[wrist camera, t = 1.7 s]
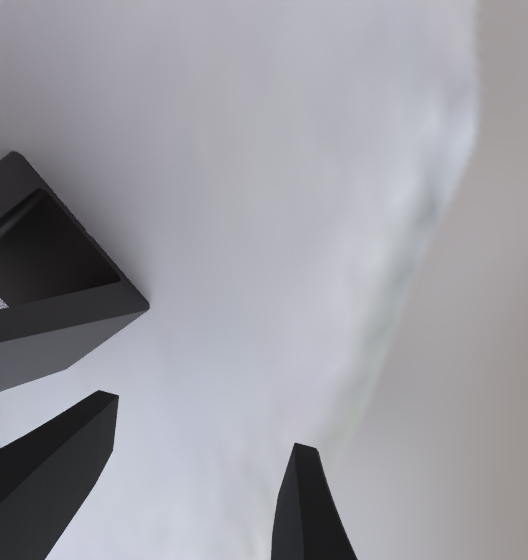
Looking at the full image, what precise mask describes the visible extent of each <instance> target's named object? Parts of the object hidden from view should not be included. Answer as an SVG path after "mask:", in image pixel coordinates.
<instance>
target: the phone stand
mask: <svg viewBox="0 0 528 560" xmlns="http://www.w3.org/2000/svg"><path fill="white" fill-rule="evenodd" d="M0 298H1V299H2V300H3V301H4V302H5V303H6V304H7V305H8V306H9V307H8V308H4V309H0V391H3V390H6V389H9V388H12V387H15V386H18V385H21V384H24V383H27V382H30V381H33V380H36V379H39V378H41V377H44V376H47V375H50V374H53V373H56V372H59V371H62V370H65V369H67V368H68V367H70V366H71V365H73V364H74V363H75V362H77V361H78V360H80V359H81V358H82V357H84V356H85V355H87V354H88V353H89V352H91V351H92V350H93V349H95V348H96V347H98V346H99V345H100V344H102V343H103V342H105V341H106V340H107V339H109V338H110V337H112V336H113V335H114V334H116V333H117V332H118V331H120V330H121V329H123V328H124V327H125V326H127V325H128V324H130V323H131V322H132V321H134V320H135V319H137V318H138V317H139V316H141V315H142V314H143V313H145V312H146V311H148V310H149V308H150V306H149V303H148V301H147V300H146V299H145V298H144V297H143V296H142V294H141V293H140V292H139V291H138V290H137V289H136V287H135V286H134V285H133V284H132V283H131V282H130V280H129V279H128V278H127V277H126V276H125V275H124V273H123V272H122V271H121V270H120V269H119V268H118V266H117V265H116V264H115V263H114V262H113V261H112V259H111V258H110V257H109V256H108V255H107V254H106V252H105V251H104V250H103V249H102V248H101V247H100V245H99V244H98V243H97V242H96V241H95V240H94V238H93V237H92V236H89V235H87V234H86V232H85V228H84V227H83V226H82V224H81V223H80V222H79V221H78V220H77V219H76V217H75V216H74V215H73V214H72V213H71V212H70V210H69V209H68V208H67V207H66V206H65V205H64V203H63V202H62V201H61V200H60V199H59V198H58V196H57V195H56V194H55V193H54V192H53V191H52V189H51V188H50V187H49V186H48V185H47V184H46V182H45V181H44V180H43V179H42V178H41V177H40V175H39V174H38V173H37V172H36V171H35V170H34V168H33V167H32V166H31V165H30V164H29V163H28V161H27V160H26V159H25V158H24V157H23V156H22V155H21V154H19V153H17V152H14V151H12V152H10V153H9V154H8V155H7V156H5V157H4V158H3V159H2V160H1V161H0Z"/></svg>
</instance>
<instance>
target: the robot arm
mask: <svg viewBox="0 0 528 560" xmlns="http://www.w3.org/2000/svg"><path fill="white" fill-rule="evenodd" d="M118 400H119V395H115V394H111V393H108V392H104V391H100V390H98V391H96V392H94V393H93V394H91V395H90V396H88V397H86V398H85V399H83V400H82V401H80V402H78V403H77V404H75V405H74V406H72V407H71V408H69V409H67V410H66V411H64V412H63V413H61V414H59V415H58V416H56V417H55V418H53V419H51V420H50V421H48V422H46V423H45V424H43V425H41V426H40V427H38V428H36V429H35V430H33V431H31V432H29V433H28V434H26V435H24V436H23V437H21V438H19V439H17V440H15V441H13V442H12V443H10V444H8V445H6V446H4V447H2V448H1V449H0V560H45V558H46V557H47V555H48V554H49V552H50V551H51V549H52V548H53V546H54V545H55V544H56V542H57V541H58V539H59V538H60V536H61V535H62V533H63V532H64V530H65V529H66V527H67V526H68V524H69V523H70V521H71V520H72V518H73V517H74V515H75V514H76V512H77V511H78V510H79V508H80V507H81V505H82V504H83V502H84V501H85V499H86V498H87V496H88V495H89V493H90V492H91V490H92V488H93V487H94V485H95V484H96V482H97V480H98V478H99V476H100V474H101V473H102V471H103V469H104V467H105V465H106V463H107V461H108V459H109V457H110V455H111V453H112V451H113V445H114V436H115V427H116V418H117V409H118ZM271 560H358V559H357V557H356V555H355V553H354V551H353V549H352V546H351V544H350V541H349V539H348V537H347V535H346V532H345V530H344V527H343V525H342V522H341V520H340V517H339V514H338V512H337V509H336V507H335V504H334V501H333V498H332V496H331V493H330V490H329V487H328V484H327V480H326V477H325V474H324V471H323V467H322V464H321V460H320V456H319V452H318V451H317V449H316V448H313V447H310V446H306V445H302V444H298V443H294V447H293V450H292V453H291V456H290V459H289V462H288V466H287V469H286V472H285V475H284V478H283V481H282V485H281V488H280V491H279V494H278V499H277V506H276V512H275V519H274V526H273V533H272V550H271Z"/></svg>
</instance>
